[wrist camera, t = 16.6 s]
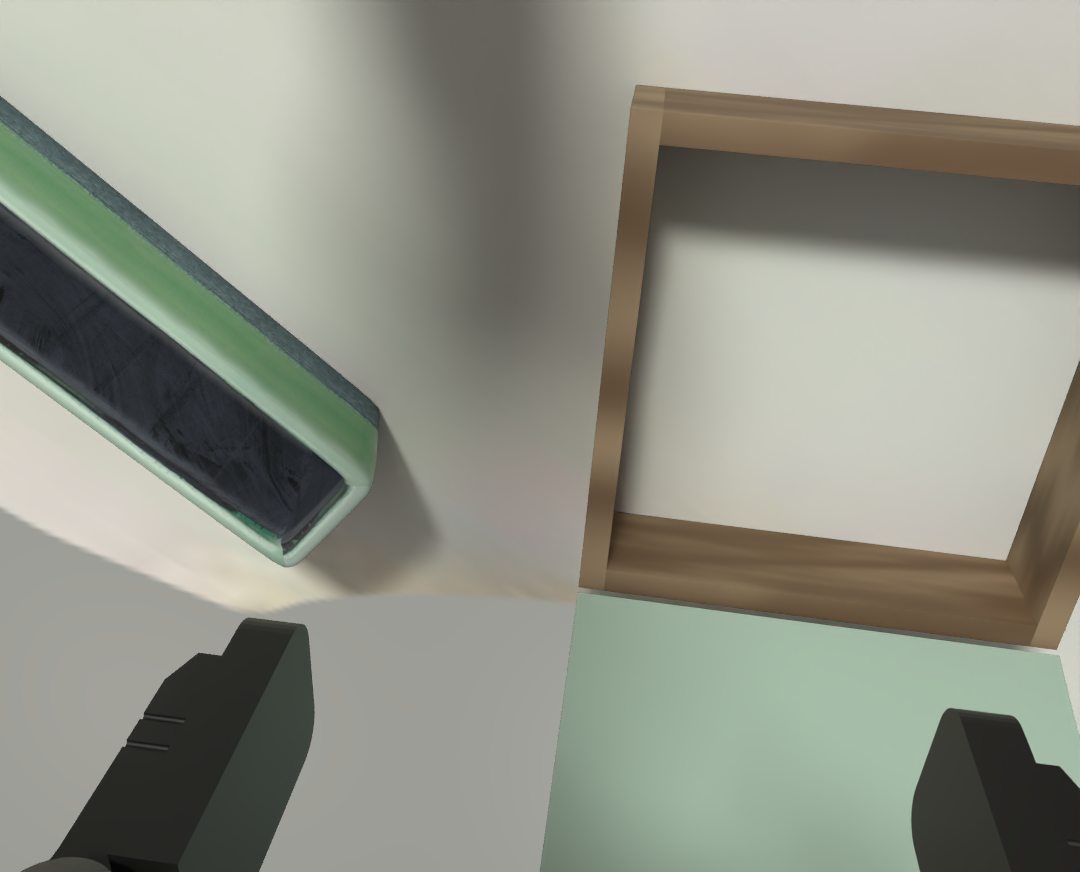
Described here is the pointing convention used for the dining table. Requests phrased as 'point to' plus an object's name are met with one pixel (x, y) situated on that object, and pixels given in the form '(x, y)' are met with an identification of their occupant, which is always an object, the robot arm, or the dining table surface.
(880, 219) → the dining table surface
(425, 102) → the dining table surface
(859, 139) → the cold frame
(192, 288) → the planter
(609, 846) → the lid
